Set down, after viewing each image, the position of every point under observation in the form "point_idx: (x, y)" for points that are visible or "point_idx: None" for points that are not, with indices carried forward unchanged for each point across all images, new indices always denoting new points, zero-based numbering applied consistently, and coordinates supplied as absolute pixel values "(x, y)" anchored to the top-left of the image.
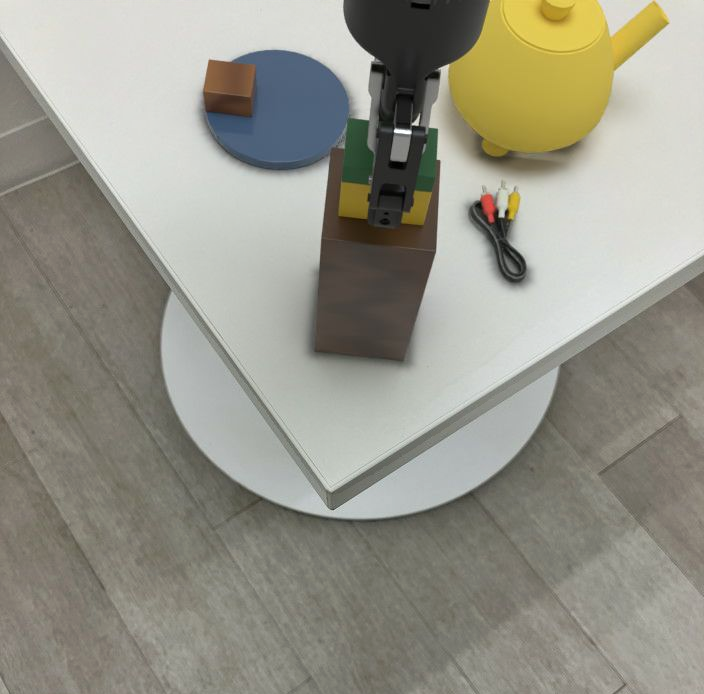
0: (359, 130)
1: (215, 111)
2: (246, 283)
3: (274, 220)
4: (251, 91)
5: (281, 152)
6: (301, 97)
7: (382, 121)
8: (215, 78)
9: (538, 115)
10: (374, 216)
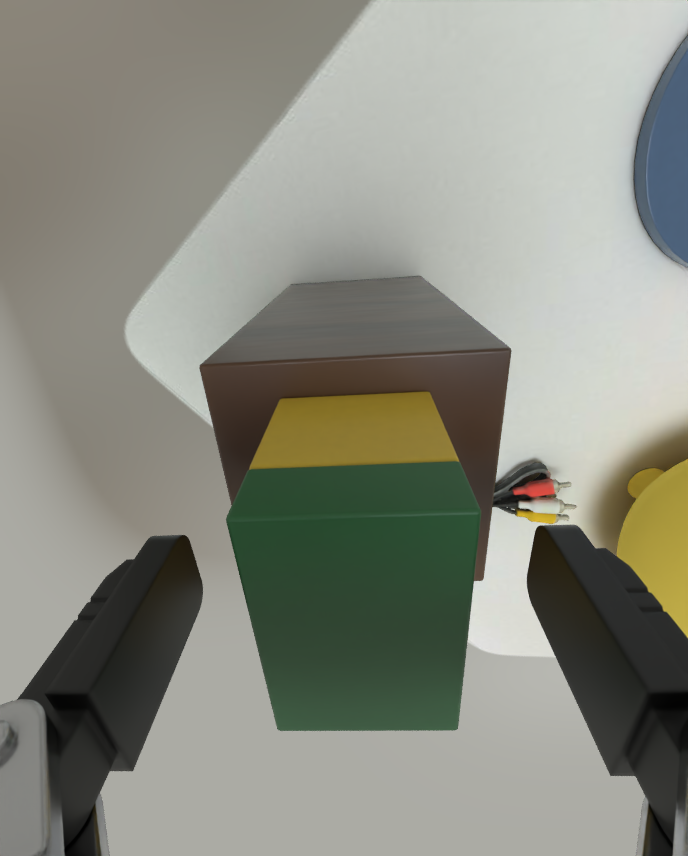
0: (416, 554)
1: None
2: (389, 145)
3: (521, 173)
4: None
5: (669, 157)
6: None
7: (538, 536)
8: None
9: (663, 580)
10: (85, 606)
